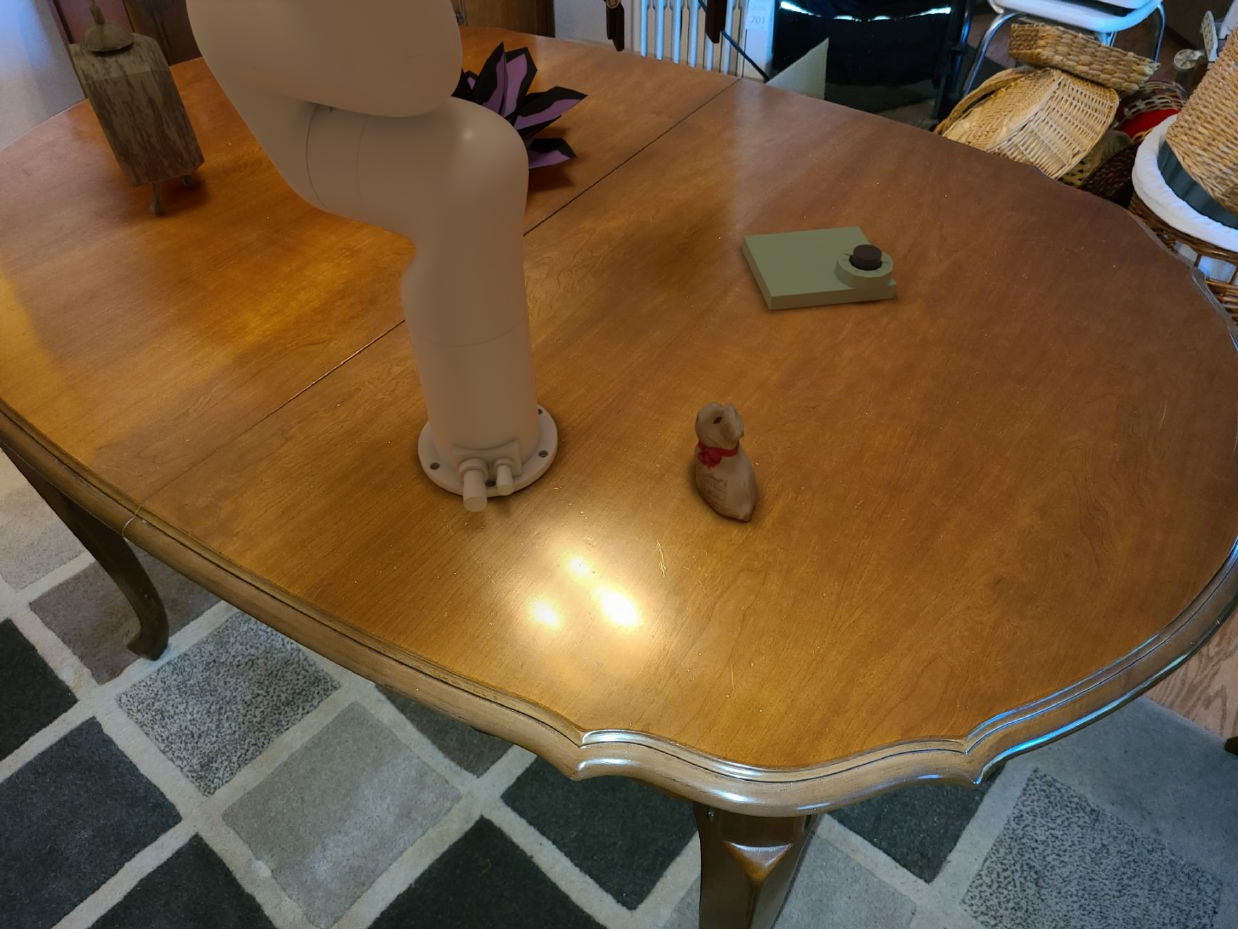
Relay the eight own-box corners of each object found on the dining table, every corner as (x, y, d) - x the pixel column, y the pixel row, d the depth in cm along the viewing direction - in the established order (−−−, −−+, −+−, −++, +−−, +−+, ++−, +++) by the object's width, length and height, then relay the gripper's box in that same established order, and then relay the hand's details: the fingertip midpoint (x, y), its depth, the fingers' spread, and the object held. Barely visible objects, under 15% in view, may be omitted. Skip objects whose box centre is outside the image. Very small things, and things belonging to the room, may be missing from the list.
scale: (894, 301, 92) (902, 274, 89) (770, 313, 90) (775, 286, 88) (855, 239, 100) (861, 213, 98) (741, 249, 99) (744, 223, 96)
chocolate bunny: (752, 455, 76) (766, 371, 69) (756, 523, 71) (772, 439, 63) (691, 453, 76) (698, 368, 69) (691, 519, 71) (698, 436, 64)
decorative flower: (620, 197, 108) (616, 82, 96) (373, 256, 102) (336, 142, 90) (549, 81, 127) (538, -26, 115) (338, 125, 121) (304, 18, 109)
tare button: (883, 270, 90) (886, 258, 89) (856, 273, 90) (859, 260, 89) (873, 255, 92) (876, 242, 91) (847, 257, 92) (849, 245, 91)
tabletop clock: (129, 175, 111) (33, -36, 93) (200, 158, 114) (120, -48, 96) (147, 225, 103) (45, 5, 85) (223, 206, 106) (140, -11, 88)
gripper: (578, -154, 68) (585, 64, 80) (783, -164, 70) (759, 50, 82) (565, -174, 73) (574, 34, 85) (757, -183, 75) (738, 21, 87)
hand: (665, 42), depth 84 cm, fingers open, 9 cm apart
